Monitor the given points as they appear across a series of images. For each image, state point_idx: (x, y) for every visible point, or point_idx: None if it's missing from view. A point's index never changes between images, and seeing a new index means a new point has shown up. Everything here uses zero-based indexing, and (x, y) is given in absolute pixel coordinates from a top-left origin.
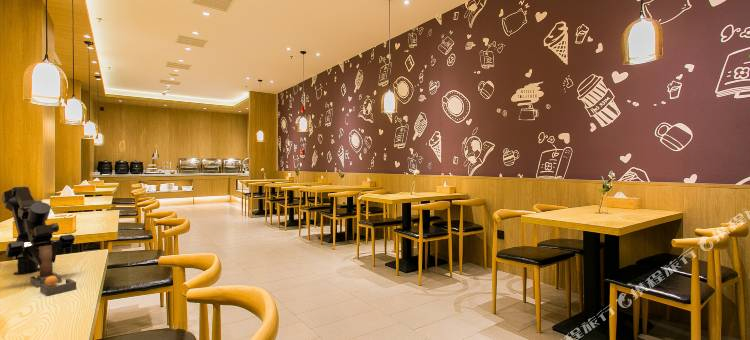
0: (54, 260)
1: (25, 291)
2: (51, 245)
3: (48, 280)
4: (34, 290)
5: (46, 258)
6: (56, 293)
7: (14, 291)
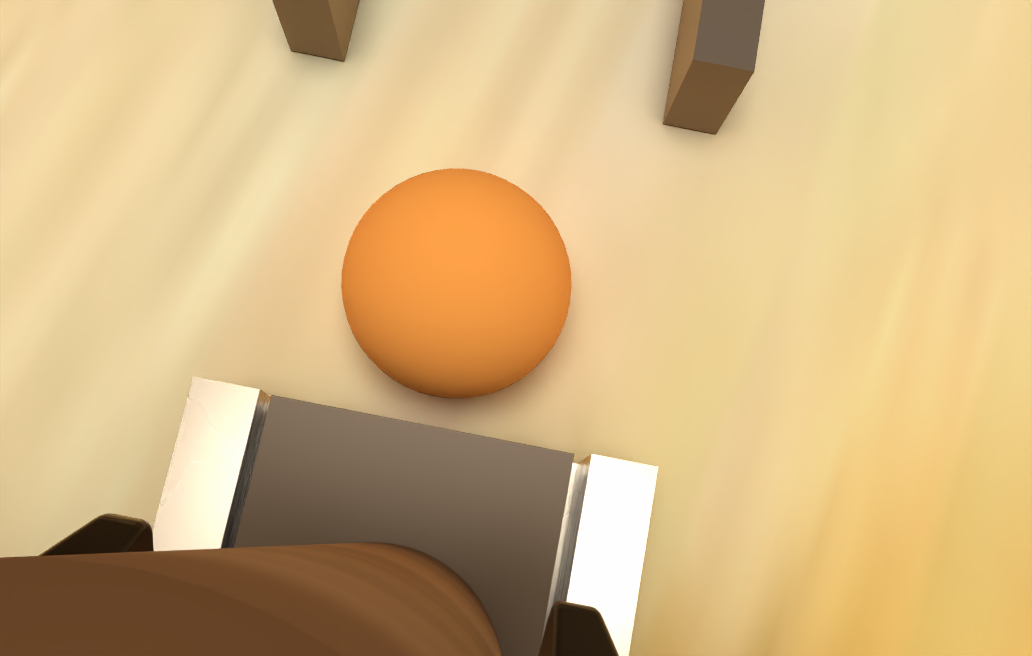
0: (106, 526)
1: (837, 412)
2: None
3: (540, 208)
4: (732, 317)
5: (359, 561)
6: None
7: (942, 626)
